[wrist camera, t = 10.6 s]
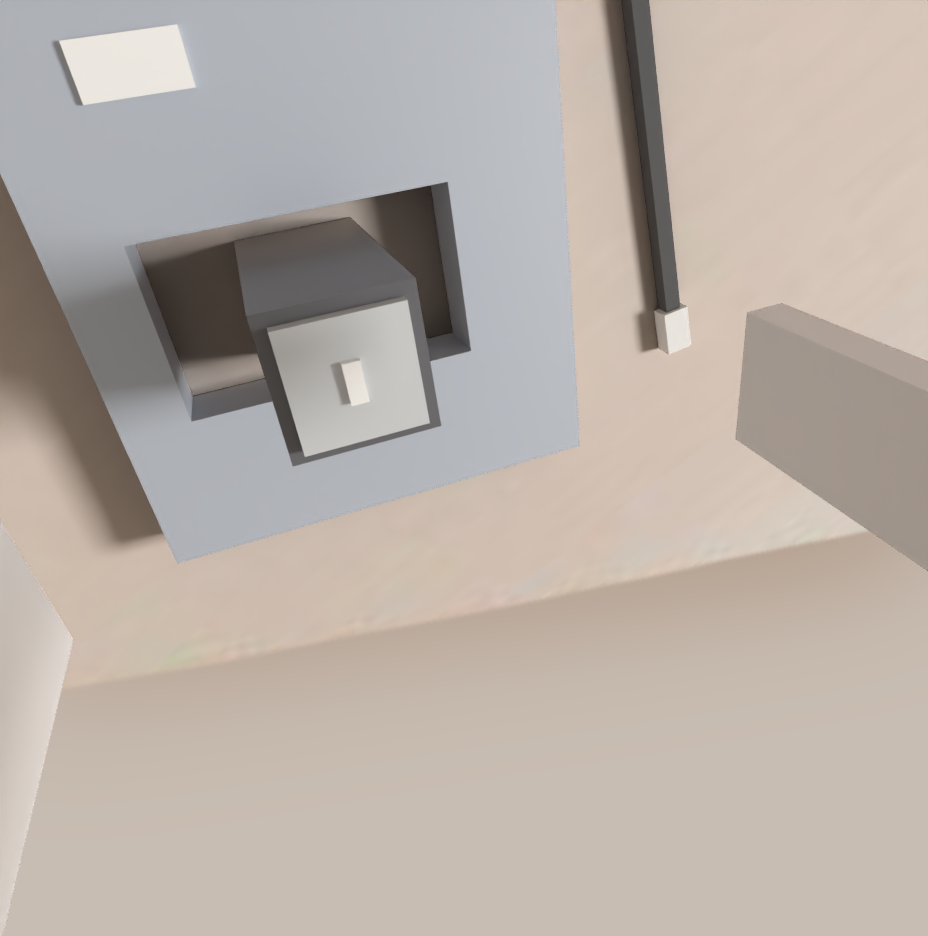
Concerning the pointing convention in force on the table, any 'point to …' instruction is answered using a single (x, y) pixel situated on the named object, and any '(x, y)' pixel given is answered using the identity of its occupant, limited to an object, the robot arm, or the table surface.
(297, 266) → the charger plug
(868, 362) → the robot arm
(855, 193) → the table surface
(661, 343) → the cable
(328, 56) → the plate
